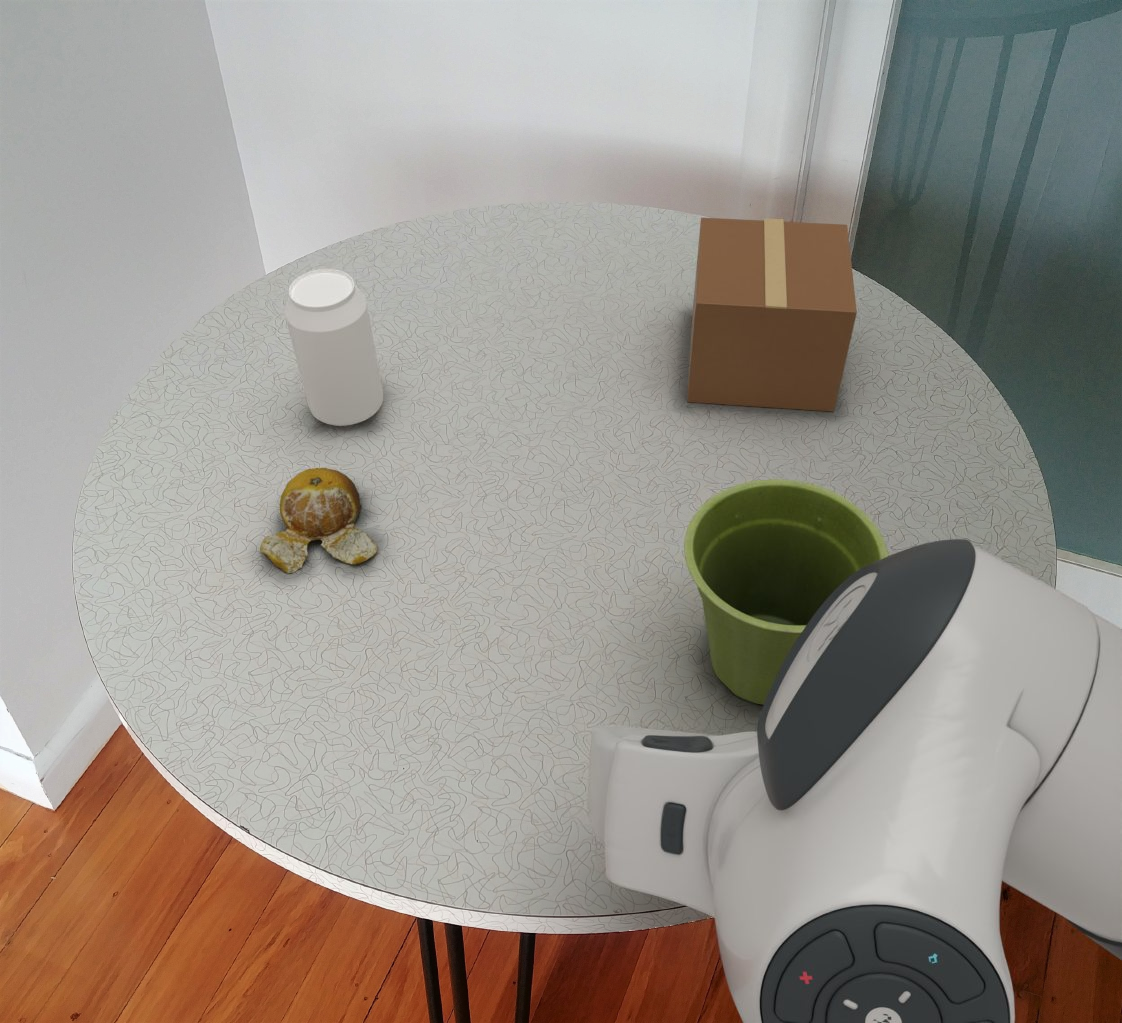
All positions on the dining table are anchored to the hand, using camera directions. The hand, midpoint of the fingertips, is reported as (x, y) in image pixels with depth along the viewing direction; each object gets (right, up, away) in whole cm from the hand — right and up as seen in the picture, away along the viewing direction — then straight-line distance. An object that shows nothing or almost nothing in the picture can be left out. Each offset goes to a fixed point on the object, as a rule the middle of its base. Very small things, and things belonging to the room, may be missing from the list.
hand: (774, 749), depth 59 cm
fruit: (-30, +11, +19) cm, 38 cm away
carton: (+5, +26, +32) cm, 42 cm away
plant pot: (+1, +3, +11) cm, 11 cm away
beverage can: (-30, +22, +29) cm, 47 cm away
